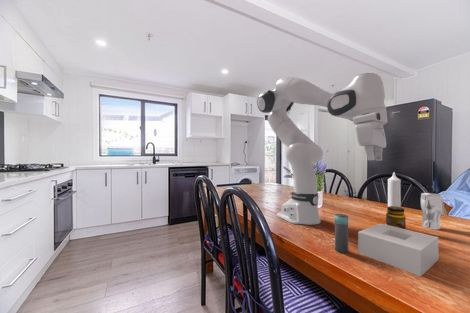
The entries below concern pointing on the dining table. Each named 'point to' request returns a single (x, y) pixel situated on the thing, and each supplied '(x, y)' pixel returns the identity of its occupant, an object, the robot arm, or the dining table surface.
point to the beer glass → (431, 210)
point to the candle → (394, 191)
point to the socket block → (399, 247)
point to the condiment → (395, 217)
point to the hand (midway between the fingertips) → (375, 160)
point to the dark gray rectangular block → (341, 233)
